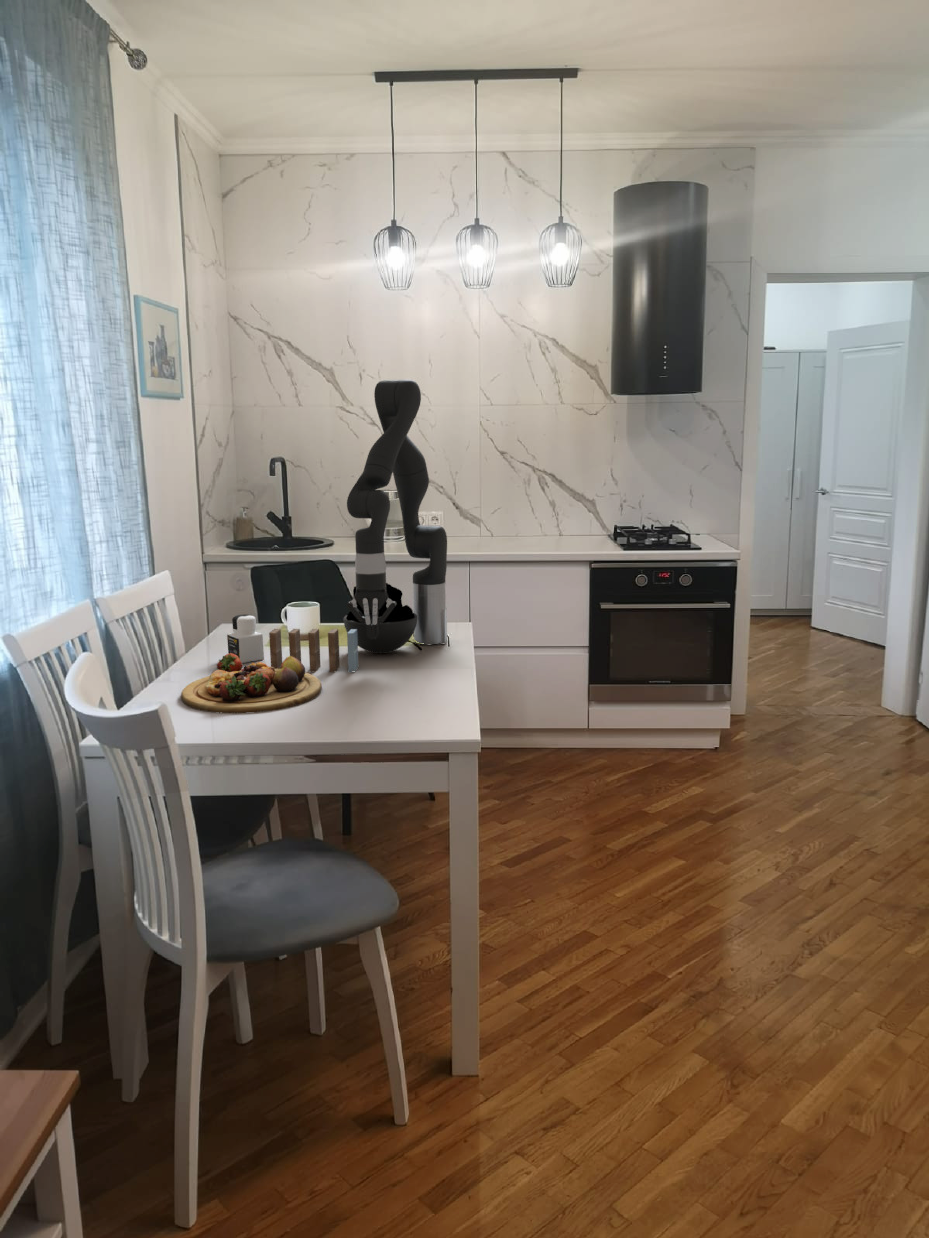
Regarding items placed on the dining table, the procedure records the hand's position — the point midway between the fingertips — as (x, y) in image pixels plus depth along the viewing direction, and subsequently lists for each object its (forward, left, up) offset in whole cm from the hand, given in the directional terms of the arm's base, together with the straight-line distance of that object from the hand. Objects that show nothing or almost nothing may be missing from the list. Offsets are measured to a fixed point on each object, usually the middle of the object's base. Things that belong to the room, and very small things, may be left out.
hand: (372, 638), depth 243 cm
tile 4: (+20, 0, -8) cm, 22 cm away
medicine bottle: (+36, -10, -8) cm, 38 cm away
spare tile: (+5, 0, -8) cm, 10 cm away
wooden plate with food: (+24, +23, -9) cm, 35 cm away
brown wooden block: (+25, 0, -8) cm, 26 cm away
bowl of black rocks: (+1, -19, -8) cm, 21 cm away
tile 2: (+10, 0, -8) cm, 13 cm away
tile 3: (+15, 0, -8) cm, 17 cm away
